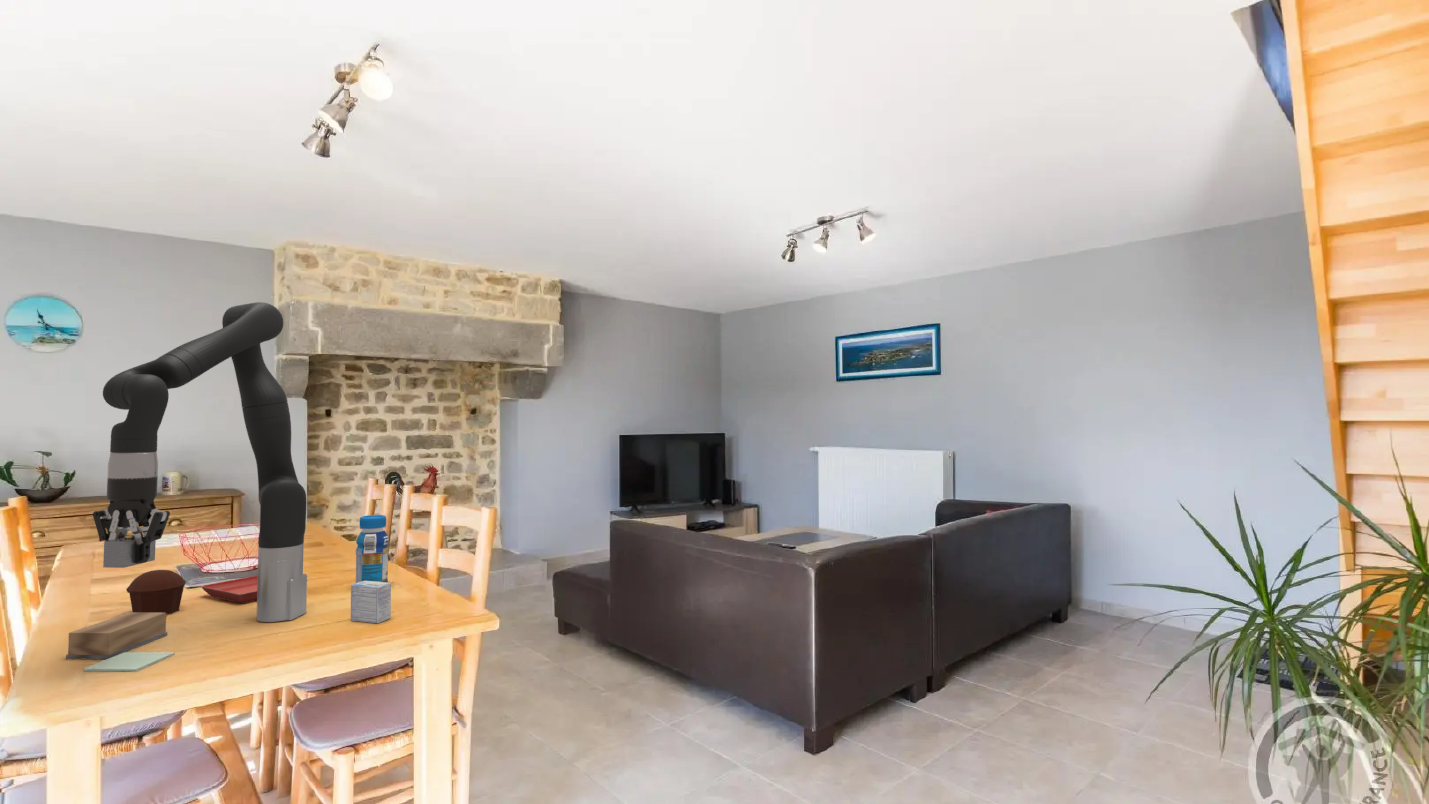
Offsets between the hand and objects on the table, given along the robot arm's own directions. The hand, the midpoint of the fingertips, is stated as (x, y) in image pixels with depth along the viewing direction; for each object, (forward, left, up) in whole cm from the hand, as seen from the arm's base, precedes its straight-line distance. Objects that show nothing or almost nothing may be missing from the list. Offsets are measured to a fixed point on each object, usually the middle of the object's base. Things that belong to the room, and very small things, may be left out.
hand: (129, 562), depth 132 cm
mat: (-1, 0, -19) cm, 19 cm away
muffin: (+21, -33, -20) cm, 43 cm away
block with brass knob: (0, 0, 0) cm, 0 cm away
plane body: (+9, -9, -19) cm, 23 cm away
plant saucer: (+9, -51, -20) cm, 55 cm away
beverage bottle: (-19, -58, -20) cm, 64 cm away
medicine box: (-34, -28, -20) cm, 48 cm away
